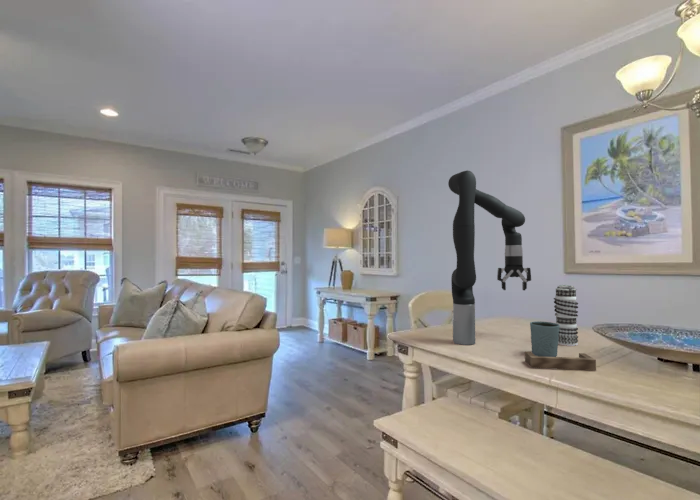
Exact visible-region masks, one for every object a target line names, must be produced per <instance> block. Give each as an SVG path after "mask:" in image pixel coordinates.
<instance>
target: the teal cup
mask: <svg viewBox="0 0 700 500" xmlns="http://www.w3.org/2000/svg"><path fill="white" fill-rule="evenodd" d="M529 325H530V326H529V327H530V339H531V340H530V342H531V352H532V353H533V354H534V355H535V356H543V357H556V356H557V357H558V350H559V349H558V348H559V347H558V346H559V344H558V338H559V337H558V335H559V328H560V325H559V324H556V322H551V321H530V322H529Z"/></svg>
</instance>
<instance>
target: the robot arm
mask: <svg viewBox="0 0 700 500" xmlns="http://www.w3.org/2000/svg"><path fill="white" fill-rule="evenodd" d="M447 182H448V188H449V190H450V191H451V192H452V193H453V194H455V195H457V196H458V207H457V208H456V212H455V214H454V217H453V221H452V239H453V240H452V241H453V245H454V249H455V253H456V266H455V267H456V268H455V269H454V270H453V271H452V273H451V295H452V307H453V308H452V309H453V310H452V311H453V312H452V315H453V316H452V318H453V319H452V342H453V344H455V345H457V344H458V345H463V346H464V345H465V346H466V345H468V346H470V345H471V346H472V345H475V344H476V302H475V301H476V299H475V296H474V291H473V287H474V286H475V283H476V281H477V272H476V264H475V263H476V262H475V239H476V238H475V237H476V236H475V234H476V231H475V230H476V228H475V225H476V224H475V205H477V206H478V207H480V208H482V209H484V210H485V211H486V212H488V213H489V214H490V215H492V216H494V217H495V218H497V219H501V227H502V231H503V235H504V237H505V239H504V243H505V245H504V246H505V247H504V267H498V268H497V275H496V276H497V277H496V278H497V279H496V281H498V282H499V281H500V282H501V288H502V290H503V291H506V289H507V287H506V286H507V284H506V282H507V280H508V279H509V278H520V279H521V280H522V281H521V282H522V284H521V285H522V291H526V290H527V289H528V282H530V281H532V274H531V272H532V271H531V267H524V264H523V263H524V260H523V258H524V257H523V255H524V254H523V252H524V251H523V243H522V242H523V238H522V234H521V233H520V232H517V230H516V228H518V227H522V226H523V225H524V224H525V222H526V217H525V214H523V213H522V212H521V210H519V209H516V208H514V207H511V206H509V205H507V204H506V203H505V202H503V201H501V200H500V199H499V198H497V197H495V196H493V195H491V194H489V193H486V192H484V191H481V190H479V189H478V188H477V179H476V175H475V174H474V173H473V171H471V170H464V171H460V172H458V173H455V174H453V175H452V176H450V177H449V179H448V181H447ZM504 272H505V274H504V276H503V277H502V273H504ZM523 273H525V274H526V277H525V275H524V274H523Z"/></svg>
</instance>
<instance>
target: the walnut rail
mask: <svg viewBox="0 0 700 500" xmlns="http://www.w3.org/2000/svg"><path fill="white" fill-rule="evenodd" d="M524 361H525V362H526V363H527V365H528V366H529V367H530V368H531V369H534V368H535V369H548V368H557V369H556V370H573V369H575V371H578V370H579V371H597V361H596V358H594V357H592V356H590V355H588V354H587V353H585V352H584V353H582V352H579V353H578V357H574V356H573V357H572V356H571V357H570V356H567V357H566V356H557V357H543V356H535V355H534V354H533V353H532V351H524Z"/></svg>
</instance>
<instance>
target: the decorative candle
mask: <svg viewBox="0 0 700 500" xmlns="http://www.w3.org/2000/svg"><path fill="white" fill-rule="evenodd" d="M577 290H578V289H576V288H575V287H574V285H567V284H564V285H563V284H560V285H557V287H556V288H555V297H553V300H554V301H553V303H554V306H553V307H554V312H555V313H554V316H555V319H556V320H555V323H556V324H559V325H560V328H559V335H558V337H559V338H558V345H559V346H560V345H561V346H566V345H567V347H575V345H576V346H578V345H579V343H578V342H579V336H578V333H579V332H578V330H579V328H578V324H577V318H578V317H579V314H578V313H579V311H578V310H577V309H578V308H579V305H578V304H579V303H578V302H577Z"/></svg>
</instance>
